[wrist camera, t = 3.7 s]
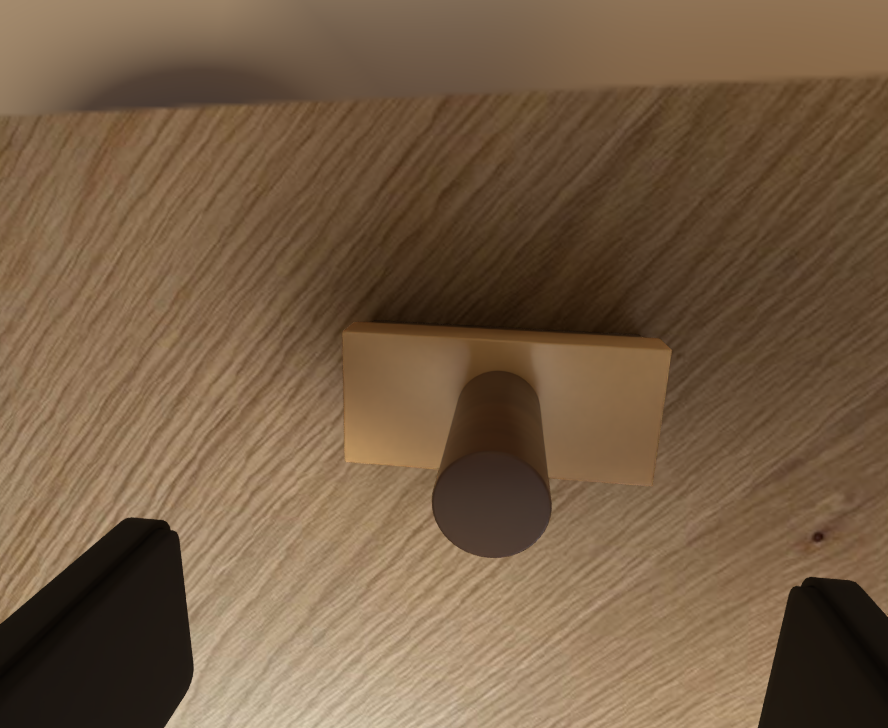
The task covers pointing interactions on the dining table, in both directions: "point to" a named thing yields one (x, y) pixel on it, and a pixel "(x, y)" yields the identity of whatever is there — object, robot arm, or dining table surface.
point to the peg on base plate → (502, 417)
